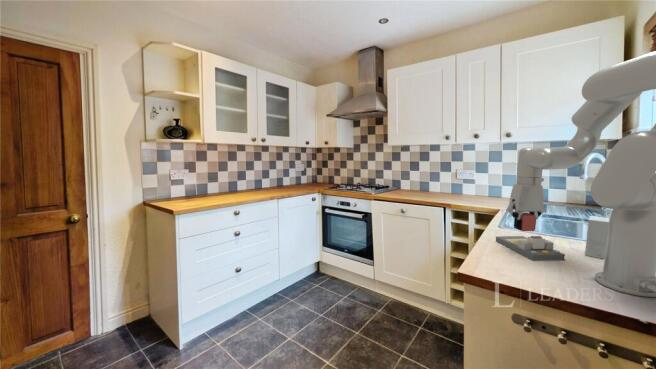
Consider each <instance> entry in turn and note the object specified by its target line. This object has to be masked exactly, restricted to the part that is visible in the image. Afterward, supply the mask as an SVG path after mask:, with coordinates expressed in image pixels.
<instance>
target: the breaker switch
mask: <svg viewBox="0 0 656 369" xmlns="http://www.w3.org/2000/svg"><path fill="white" fill-rule="evenodd" d="M526 238H527V242H530V243H531V248H532V249H544V245H545V240H546V239H545V238H543V237H542V236H541V235H531V236H527V237H526Z"/></svg>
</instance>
